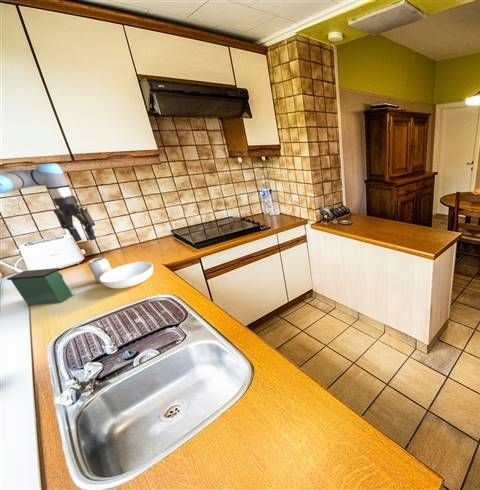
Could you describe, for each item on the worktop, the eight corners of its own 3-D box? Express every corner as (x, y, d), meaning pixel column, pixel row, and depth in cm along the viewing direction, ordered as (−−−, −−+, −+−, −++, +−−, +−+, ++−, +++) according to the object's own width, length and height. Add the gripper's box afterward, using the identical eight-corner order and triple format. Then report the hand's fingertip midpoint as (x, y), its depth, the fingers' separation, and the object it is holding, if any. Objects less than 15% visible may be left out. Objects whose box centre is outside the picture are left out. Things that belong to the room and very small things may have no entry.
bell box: (25, 306, 121) (6, 278, 115) (41, 297, 128) (24, 270, 122) (60, 303, 122) (43, 275, 116) (74, 294, 129) (59, 267, 123)
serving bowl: (104, 299, 123) (97, 286, 121) (107, 282, 138) (101, 270, 136) (158, 282, 135) (153, 271, 132) (155, 268, 150) (151, 257, 147)
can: (114, 274, 146) (104, 255, 141) (117, 278, 142) (107, 258, 137) (96, 280, 141) (85, 260, 136) (98, 284, 136) (87, 264, 132)
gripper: (91, 193, 133) (111, 236, 142) (49, 196, 131) (72, 238, 141) (77, 196, 126) (99, 241, 135) (33, 199, 125) (59, 244, 134)
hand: (86, 240), depth 138 cm, fingers open, 6 cm apart
